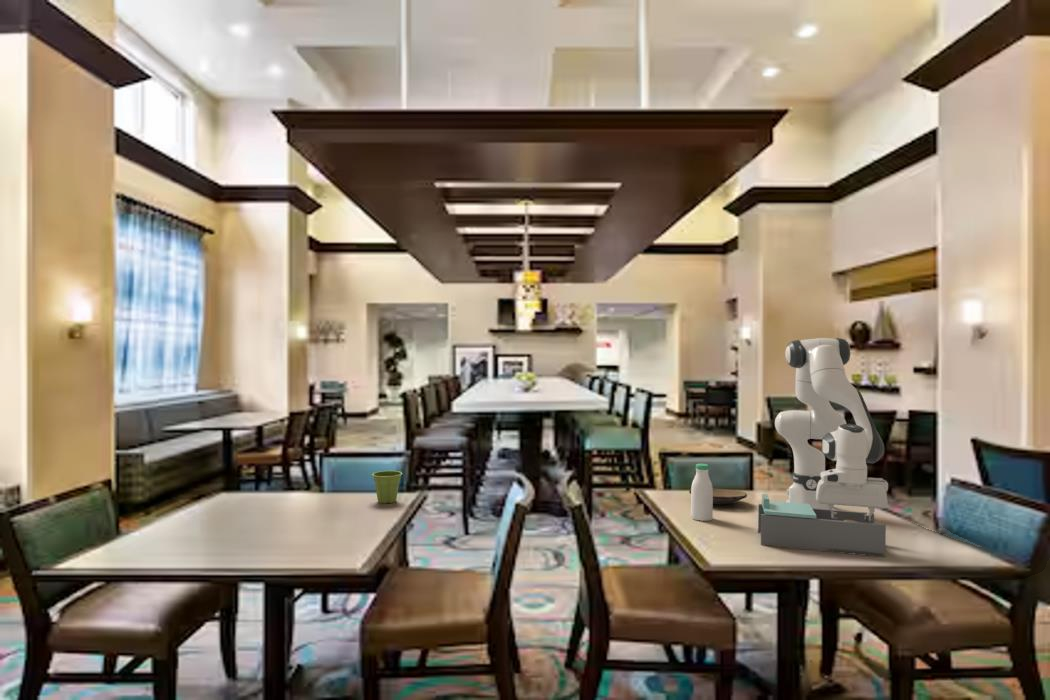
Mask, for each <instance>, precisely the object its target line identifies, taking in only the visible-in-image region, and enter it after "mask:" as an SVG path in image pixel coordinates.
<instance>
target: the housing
mask: <svg viewBox="0 0 1050 700" xmlns="http://www.w3.org/2000/svg"><path fill="white" fill-rule="evenodd" d="M812 509H813V511H814V512H815V514H816V519H815V518H803V517H791V516H779V515H767V514H764V510H763V506H762V503H758V515H757V517H758V518H757V519H758V520H757V521H758V522H757V523H758V526H757V527H758V528H757V533H759V532H761V533H760V545H761V546H767V545H771V546H770V547H777V546H780V547H779V548H790V549H798V548H799V549H798V550H808V549H812V550H811V551H818V550H821V551H820V552H828V551H833V552H832V553H838V552H844V553H843V554H848V553H855V554H854V555H858V554H865V555H864V556H868V555H874V556H873V557H878V556H885V557H886V546H887V545H886V542H887V541H886V537H887V536H886V535H887V534H886V533H887V531H886V528H887V525H885V524H882V523H875V513H873V514H872V515H871V519H870V521H865V520H864V514H866V515H867V514H868V511H867V512H865V511H863V512H862V511H853V510H852V511H851V510H839V509H835V510H833V511H834V512H837V519H833V518H832V517H831V511H830V509H817V508H812ZM844 520H854V521H857V522H849V521H844Z"/></svg>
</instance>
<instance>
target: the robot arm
mask: <svg viewBox="0 0 1050 700" xmlns="http://www.w3.org/2000/svg"><path fill="white" fill-rule="evenodd" d="M784 356H785V360H786V362H787V364H788V365H789V366H790V367H791V368H793V369H796V370H795V392H794V393H795V397H796V399H797V400H798V401H800V402H801V403H802V404H804V405H807V406H808V407H810V408H811V410H796V409H795V410H793V409H792V410H784V411H780V412H778V414H777V415H776V417H775V418H774V419H775V420H774V428H775V430H776V431H777V433H778V434H779V435H780V436H781V437H783V438H784V439H785V440H786V442H787V443H788V444H789V445H790V448H791V450H792V454H793V463H794V464H793V465H794V466H793V467H794V468H793V469H794V471H793V473H792V474H793V475H792V482H793V483H792V484H791V485H790V486H789V488H788V489H786V496H787V499H786V500H785V502H791V503H803V504H810V506H811V507H812V508H817V509H830V511H831V517H832V518H833V519H837V512H834V511H833V510H836V508H834V507H835V505H836V506H847V507H861V508H867V509H868V510H869V511H867V513H868V514H867V515H866V514H864V520H865V521H870V519H871V515H872V514H873V513H874V512H875V511H876V510H875V508H876V509H886V508H887V507H888V505H889V504H888V496H887V495H888V494H887V492H888V490H889V483H888V481H887V480H885V479H883V478H882V477H871V476H868V465H867V464H875V463H877V462H878V461H879V460H881V458H882V457H884V455H885V444H884V442H883V439H882V438H881V436H880V434H879V432H878V430H877V429H876V426H875V424H874V422H873V421H874V420H873V418H872V415H871V414H870V412H869V409H868V406H867V404H866V401H865V400H864V399H865V398H864V397H863V395H862V393H861V391H860V390H859V388H856V387H855V386H854V385H852V383H851V382H850V380H849V379H848V377H847V375H846V370H845V367H844V366H845V365H847V364H848V362H850V358H851V347H850V344H849V343H848V341H847V340H846V339H844V338H840V337H834V338H831V337H816V338H809V339H808V338H807V339H801V340H799V339H796V340H792V341H789V343H787V346H786V349H785V355H784ZM830 402H831V403H835V404H837V405H840V406H842V407H844V408H846V409H847V410H849V412H850V413H851V414H852V418H853V420H854V422H855V424H851V423H847V421H846V418H845V417H844V416H843V415H842V414H841V413H839V412H838V411H836V410H835V409H834V407H833V405H831V403H830ZM810 439H813V440H821V450H819V449H818V448H816V447H814V446H812V445H811V444H809V442H808V440H810ZM826 458H827V459H828V460H831V461H836V464H835V468H832V469H828V470H826ZM874 514H875V513H874Z"/></svg>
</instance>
